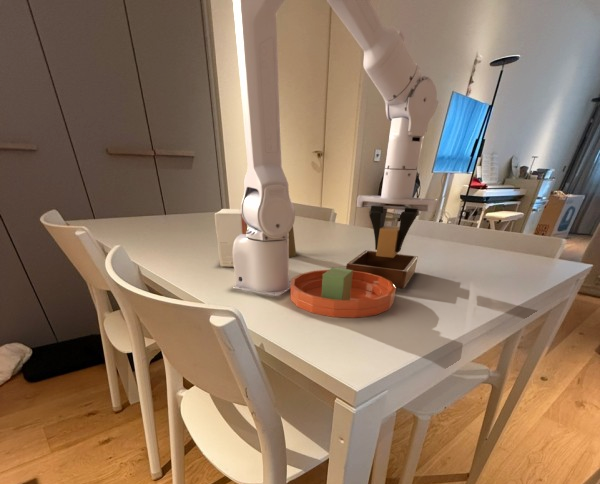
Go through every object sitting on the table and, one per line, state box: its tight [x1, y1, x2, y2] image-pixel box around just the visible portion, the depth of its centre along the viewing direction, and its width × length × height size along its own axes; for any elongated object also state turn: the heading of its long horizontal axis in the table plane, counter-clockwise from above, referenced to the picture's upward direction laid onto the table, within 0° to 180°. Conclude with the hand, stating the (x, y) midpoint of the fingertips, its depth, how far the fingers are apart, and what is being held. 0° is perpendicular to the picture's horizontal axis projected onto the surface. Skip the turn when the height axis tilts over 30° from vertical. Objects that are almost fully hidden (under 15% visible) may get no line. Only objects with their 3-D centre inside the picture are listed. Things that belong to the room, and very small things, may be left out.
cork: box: [289, 226, 297, 258], centre depth 82 cm, size 6×6×11 cm
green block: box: [322, 267, 353, 300], centre depth 54 cm, size 4×4×5 cm
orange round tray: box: [290, 268, 397, 319], centre depth 57 cm, size 17×17×3 cm
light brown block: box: [376, 224, 400, 258], centre depth 67 cm, size 4×4×5 cm
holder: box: [345, 249, 419, 290], centre depth 68 cm, size 11×13×4 cm
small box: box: [214, 208, 248, 268], centre depth 74 cm, size 8×6×10 cm
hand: (387, 250), depth 68 cm, fingers closed on light brown block, 3 cm apart
